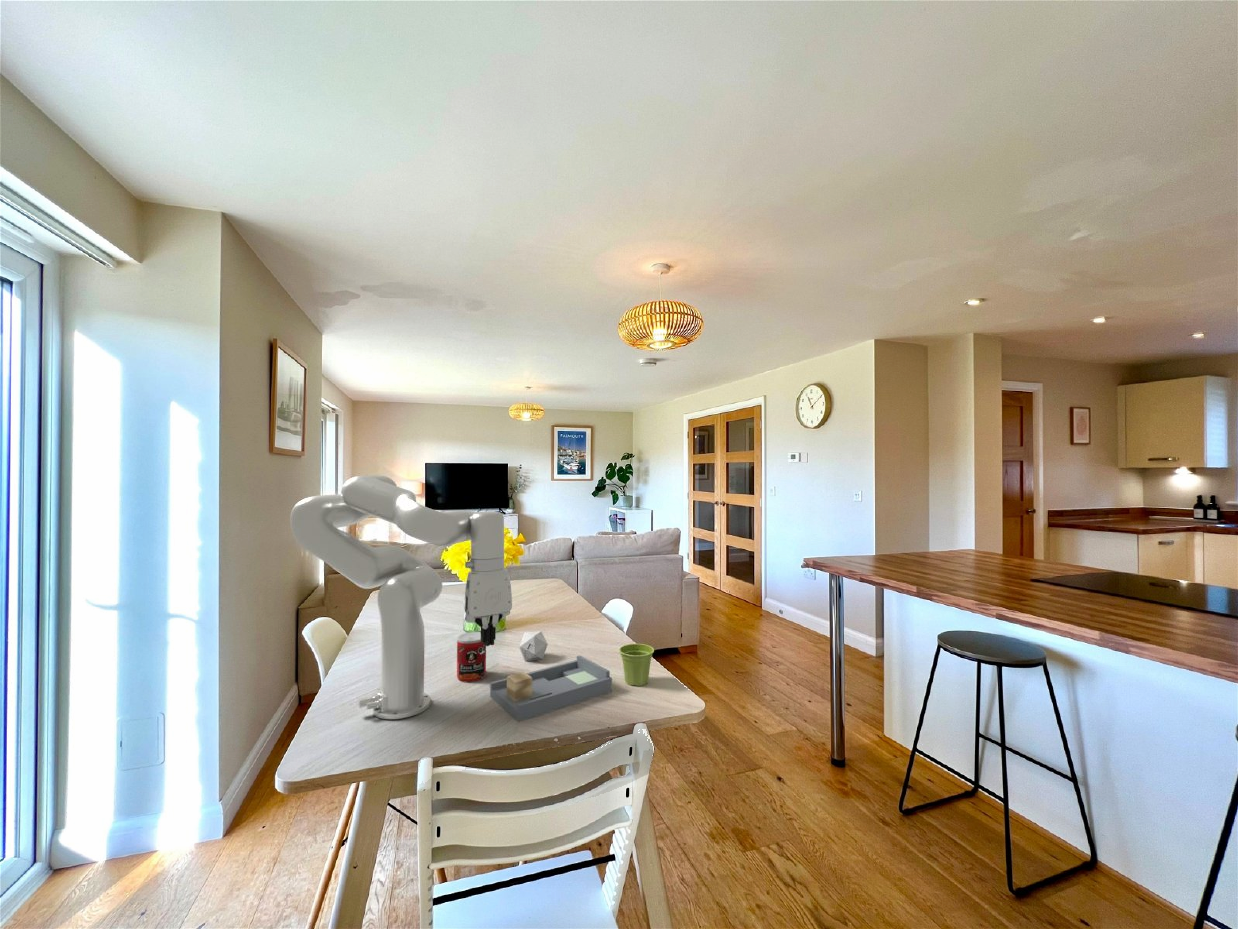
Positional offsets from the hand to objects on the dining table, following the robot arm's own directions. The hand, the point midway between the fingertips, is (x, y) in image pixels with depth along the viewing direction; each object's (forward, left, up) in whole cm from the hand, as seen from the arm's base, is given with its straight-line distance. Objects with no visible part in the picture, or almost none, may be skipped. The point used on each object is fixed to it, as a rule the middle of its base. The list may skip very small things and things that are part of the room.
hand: (488, 644), depth 117 cm
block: (+8, 0, -14) cm, 16 cm away
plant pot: (+39, -7, -16) cm, 43 cm away
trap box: (+17, 0, -16) cm, 24 cm away
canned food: (+5, +23, -16) cm, 29 cm away
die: (+25, +25, -16) cm, 39 cm away
